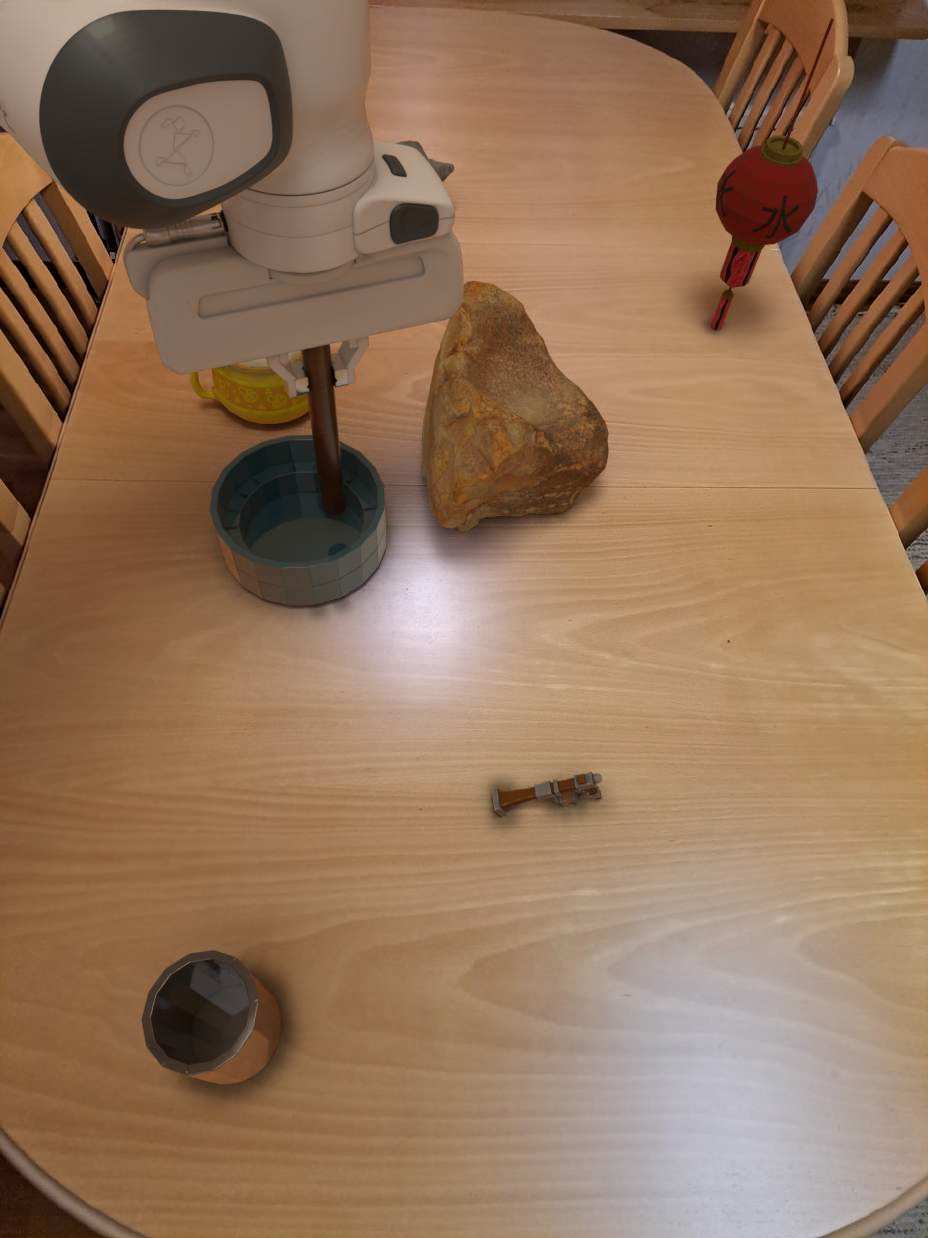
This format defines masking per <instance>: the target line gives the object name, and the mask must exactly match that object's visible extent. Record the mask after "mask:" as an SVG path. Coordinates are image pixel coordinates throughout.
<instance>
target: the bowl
mask: <svg viewBox="0 0 928 1238" xmlns="http://www.w3.org/2000/svg"><path fill="white" fill-rule="evenodd" d="M339 443H340V453H341V464H342V474H343V485H344V495H345V510H344V511H343V512H342V513H341V514H339V515H328V514H326V513H325V512H324V511H323V509H322V504H321V496H320V489H319V481H318V474H317V466H316V459H315V451H314V444H313V436H312V434H290V435H284V436H280V437H276V438H271V439H268V440H263V441H261V442H259V443H257V444H255V445H253V446H251V447H249V448H248V449H245V450H243V451H242V452H241V453H240V452H239V454H238V455H237V456H235V457H234V458H233V459H232V460H231V461H230V462H229V463H228V464H226V466H225V467H223V469H222V470H221V472H220V473H219V476H218V477H217V479H216V481H215V483H214V485H213V487H212V489H211V495H210V501H209V502H210V503H209V513H210V517H211V520H212V524H213V526H214V530H215V534H216V536H217V540H218V543H219V546H220V549H221V552H222V555H223V558H224V562H225V564H226V568H227V569H228V571H229V573H231V575H232V576H233V577H234V578H235V580H236V581H237V582H238V584H239V585H240V586H241V587H242V588H244V589H246V590H247V591H249V592H251V594H254V595H256V596H257V597H259V598H261V599H264V600H265V601H266V600H267V601H270V602H274V603H278V604H282V605H286V606H315V605H319V604H323V603H327V602H330V601H334V600H336V599H340V598H342V597H344V596H346V595H348V594H349V593H351V592H353V591H354V590H355V589H358V588H359V587H361V586H362V585H363V584H365V582H366V581H367V580H368V579H369V577H370V576H371V575H372V574H373V573H374V572H375V571H376V570H377V568H378V567H379V566H380V563H381V562H382V559H383V556H384V554H385V550H386V548H387V519H386V518H387V517H386V515H387V514H386V493H385V492H386V491H385V490H386V489H385V485H384V483H383V480H382V478H381V476H380V474H379V471H378V469H377V467H376V466H375V465H374V464H373V463H372V462H371V461H370V460H369V458H367V457H366V456H365V455H364V454H363V453H362V452H361V451H360V450H358V449H356V448H354V447H352V446H350V445H349V444H346V443H345V442H342V441H341V440H339Z"/></svg>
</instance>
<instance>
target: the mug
mask: <svg viewBox="0 0 928 1238" xmlns="http://www.w3.org/2000/svg"><path fill="white" fill-rule="evenodd" d="M288 359H289V362H295V361H301V362H302V365H303V361H302V354H301V350H299V351H295V352H290V353H288ZM211 375H212V382H213V386H212V387H211V390H206V389H203V387H202V385H201V383H200V378H199V372H195V373H190V374H189V377H190V378H189V379H190V380H189V381H190V385H191V387H192V388H193V391H194V394H195V395H197V396H198V397H199V398H201V399H204V400H215V401H216V402H218V403H221V404H222V405H223V406H224V408H226V409H227V410H228V411H229V412H230V413H232V414H234V415H236V416H237V417H239V418H241V419H242V420H244V421H247V422H251V423H257V424H260V425H261V424H262V425H276V424H283V423H288V422H291V421H293V420H296V419H298V418H300V417H303V416H304V415H306V414H307V413H309V406H308V399H307V394H305V395H301V396H297V397H292V398H289V396H288V393H287V391H286V388H285V385H284V381H283V379H282V378H281V377H280V376H279V375H278V374H277V373H275V372H274V371H273V370H272V369H271V368H270V367H269V366H268V363H267V360H266V358H261V359H257V360H252V361H247V362H242V363H237V364H233V365H228V366H223V367H218V368H214V369H211Z"/></svg>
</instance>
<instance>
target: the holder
mask: <svg viewBox="0 0 928 1238" xmlns="http://www.w3.org/2000/svg"><path fill="white" fill-rule="evenodd" d="M141 1026H142V1030H143V1038H144V1043H145V1047H146V1048H147V1050H148V1051H149V1052H150V1054H151V1055H152V1056H153V1058H154V1059H155V1060H156V1061H157V1063H158V1064H159V1065H160V1066H161V1067H162V1068H164V1069H166V1070H169V1071H171V1072H175V1073H178V1074H180V1075H183V1076H186V1077H190V1078H194V1079H197V1080H202V1081H206V1082H209V1083H214V1084H216V1085H217V1084H218V1085H234V1084H237V1083H242V1082H244V1081H247V1080H248V1079H250V1078H253V1077H254V1076H255V1075H257V1074H258V1073H260V1072H261V1071H262V1070H263V1069H264V1068H265V1067H266V1066H267V1064H268V1063H269V1062H270V1060H272V1058H273V1056H274V1054H275V1053H276V1050H277V1049H278V1046H279V1043H280V1041H281V1036H282V1030H283V1029H282V1028H283V1027H282V1026H283V1023H282V1013H281V1010H280V1006H279V1004H278V1001H277V998H276V997H275V996H274V995H273V994H272V992H270V991H269V989H268V988H267V987H266V986H265V985H264V983H263V982H261V980H260V979H258V978H257V977H256V976H255V974H254V973H253V972H251V970H250V969H248V968H247V966H246V965H245V964H244V963H243V962H242V961H241V960H240V959H239V958H237V957H236V956H233V955H229V954H227V953H224V952H221V951H219V950H214V949H210V950H203V951H197V952H190V953H187V954H186V955H184V956H183V957H181V958H180V959H178V960H177V961H175V962H173V963H172V964H169V966H167V967H166V968H165V969H164V970H163V971H162V972H161V974H160V975H159V977H158V978H157V979H156V981H155V982H154V984H153V985H152V986H151V988H150V989H149V991H148V992H147V996H146V1000H145V1003H144V1008H143V1012H142V1016H141Z"/></svg>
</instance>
